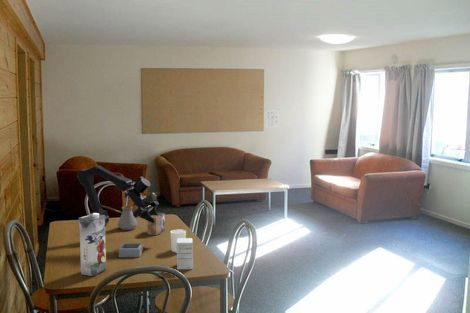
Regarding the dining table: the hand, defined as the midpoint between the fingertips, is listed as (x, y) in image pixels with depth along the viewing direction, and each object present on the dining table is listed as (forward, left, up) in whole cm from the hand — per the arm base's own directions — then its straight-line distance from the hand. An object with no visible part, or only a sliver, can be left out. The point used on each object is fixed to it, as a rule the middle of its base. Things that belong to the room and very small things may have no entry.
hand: (156, 221), depth 260 cm
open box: (-11, -12, -13) cm, 21 cm away
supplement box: (+17, -31, -14) cm, 38 cm away
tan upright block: (-1, +1, -7) cm, 7 cm away
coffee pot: (-26, +34, -14) cm, 45 cm away
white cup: (+12, -7, -14) cm, 20 cm away
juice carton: (-23, -38, -14) cm, 47 cm away
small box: (-3, +27, -14) cm, 30 cm away
